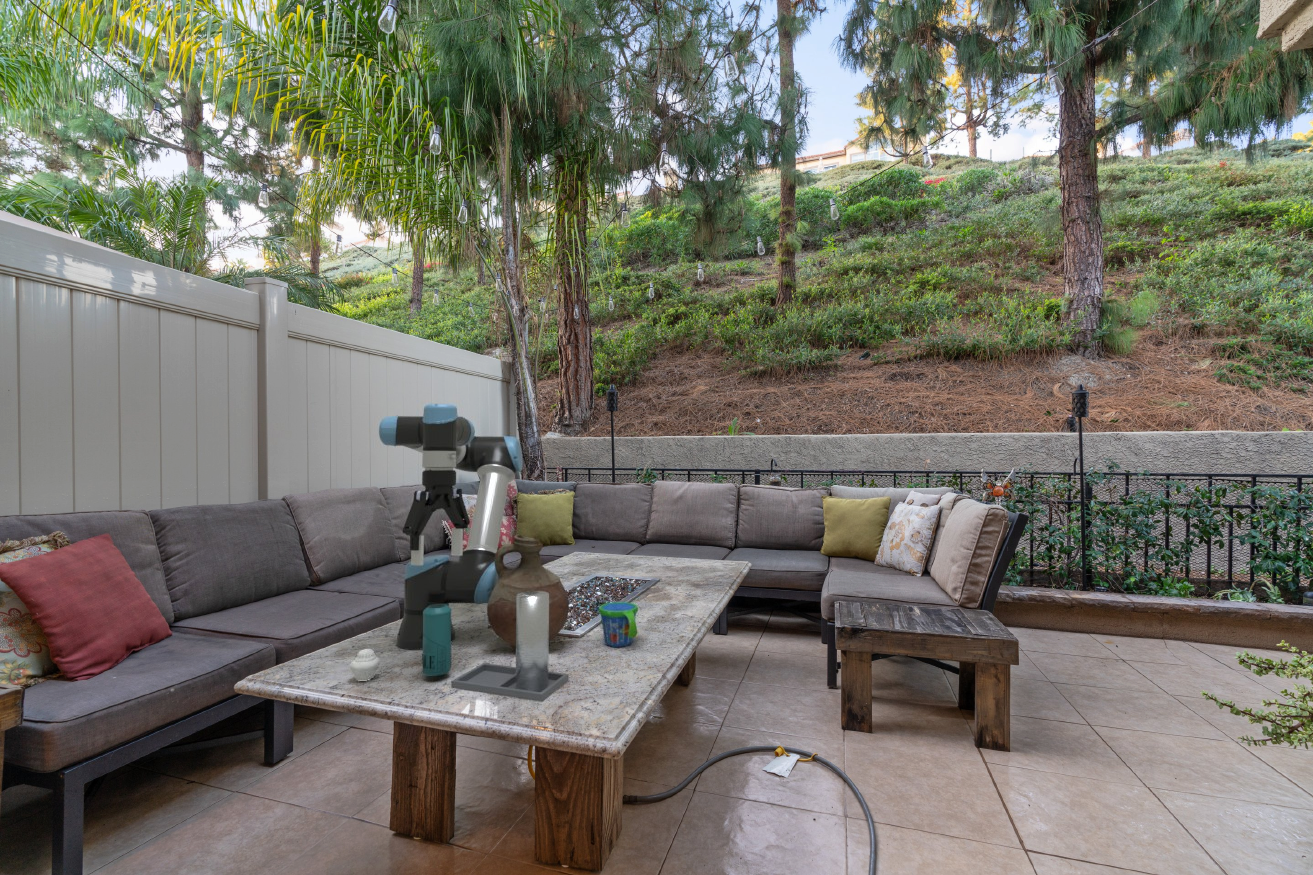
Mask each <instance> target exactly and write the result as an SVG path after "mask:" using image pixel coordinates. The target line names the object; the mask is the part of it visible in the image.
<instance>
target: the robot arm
mask: <svg viewBox="0 0 1313 875" xmlns="http://www.w3.org/2000/svg"><path fill="white" fill-rule="evenodd" d="M422 415H423V416H417V415H415V416H413V415H411V416H410V415H409V416H408V415H406V416H405V415H402V416H401V415H395V416H394V415H392V416H386V417H383V418H382V419H381V420H380V423H379V427H378V436H379V439H380V441H381V442H382V444H383V445H385V446H392V447H398V446H399V447H400V446H402V447H404V448H408V449H411V450H414V451H416V452H419V453H421V454H422V456H421V457H422V460H421V462H422V463H421V467H422V468H423V469H424V470H423V471H422V475H421V477H422V478H421V485H422V487H424V489H425V490H416V491H414V492H413V501H412V504H411V506H410V510H409V512H408V515H407V518H406V520H405V523H404V526H403V528H402V533H403V534H405V535H406V536H409V549H410V561H409V562H408V563H406V565H405V569H404V578H403V580H404V581H403V582H404V583H403V584H404V587H403V590H404V591H403V593H404V594H403V595H404V597H403V599H404V600H403V605H404V606H403V607H404V608H403V617H402V619H401V620H402V621H401V624H400V626H399V630H398V632H397V635H396V646H397V647H398V648H400V649H405V650H423V635H422V634H423V632H422V631H423V630H422V627H423V626H422V625H423V611H424V610H425V609H426V608H427V607H428V606H430V605H434V604H446V605H448V606H449V604H476V605H481V604H488V601H489V598H490V596H491V593H492V591H493V589H494V587H495V586H496V584H497V581H498V574H497V572H496V569H495V563H494V558H495V554H496V552H497V550H498V549H499V548H498V547H499V543H500V542H499V540H500V535H501V531H502V530H501V529H502V524H503V523H502V522H503V518H504V512H505V507H506V500H507V494H508V488H509V483H511V482H512V481H514V479H515V476H516V473H517V474H518V473H521V472H522V470H523V452H522V446H521V444H520V440H519V439H518V438H517V437H515V436H507V435H503V436H493V435H492V436H491V435H489V436H482V435H481V436H478V435H477V436H475V432H476V430H475V426H474V424H473V423H472V421H470V420H469V419H467V418H465V417H464V416H459V414H458V408H457V405H454V404H449V403H429V404H426V405H425V406H424V408H423V414H422ZM454 469H455V470H454ZM456 470H459V471H463V472H469V473H476V474H477V476H478V478H480V481H479V485H478V491H477V494H476V501H475V505H474V509H473V510H474V511H473V516H472V519H471V520H472V521H471V520H470V517H469V514H468V511H467V508H466V505H465V501H464V499H463V489H462V488H453V487H455V486H456V485H457V471H456ZM437 510H444V513H446V516H447V517H448V520H450V523H451V524H452V526H453V527H454V528H451V556H456V557H457V556H458V557H459V558H458V560H451V558H450V556H449V555H448V554H440V555H431V556H426V557H424V551H425V550H424V547H425V546H424V543H425V541H424V540H425V535H422V533H423V531H425V530H424V529H425V527H426V526H427V524H428V522H429V520H430V519H431V517H432V515H433V513H434V512H436V511H437ZM470 524H471V526H470V530H469V535H468V540H467V546H466V548H464V549H463V547H464V542H463V541H464V537H465V536H464V532H465V531H464V529H467V528H469V525H470ZM503 563H504V566H506V564H505V562H504V561H503ZM436 590H444V591H446V596H447V600H445V601H442V602H428V595H429V592H431V591H436ZM449 607H450V606H449ZM455 638H456V630H455V627H454V625H453V621H452V619H451V642H453V641H454V640H455Z"/></svg>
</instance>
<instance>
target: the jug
mask: <svg viewBox="0 0 1313 875" xmlns="http://www.w3.org/2000/svg"><path fill="white" fill-rule="evenodd" d="M543 547H544V545H543V544H542V542H540V540H539V539H535V538H534V537H530V536H529V537H528V536H523V535H522V534H518V533H517V534H515V535H514V536H513V543H512V544H504V545H501V546H500V547H499V548H497V552H496V554H495V558H494V563H495V569H496V572H497V574H498V581H497V584H496V586H495V587H494V589H493V591H492V593H491V596H490V598H489V601H488V603H487V605H486V606H487V607H486V616H487V620H488V623H489V625H490V627H491V629H492V631H493V633H494V634H495V635H496V636H497V637H498V638H499V639H500V640H502V641H503V642H505V643H507V644H508V645H510V647H513V648H514V649H516V595H517V594H519V593H522V592H528V591H544V592H548V593H549V642H550V641H552V640H553V639H554V638H555V637H556V636H557V635H558V634H559V633H560V632H561V630H562V629H563V628H564V626H565V623H566V622H567V621H566V620H567V619H568V615H569V607H570V605H569V598H568V594H567V591H566V589H565V586H564V585H563V583H562V581H561V579H560V577H559V576H558V575H557V574H555V573H554V572H552V571H551V570H549V569H548V568H546V567H544V566H543V564H542V561H541V555H540V552H541V551H542V548H543ZM510 553H518V554H520V562H519V563H518V564H519V565H518V566H517V567H515V568H509V567H508V566H506V565H505V566H504V564H505V562H504V557H505V556H506V555H507V554H510ZM503 562H504V563H503Z"/></svg>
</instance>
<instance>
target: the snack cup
mask: <svg viewBox="0 0 1313 875" xmlns="http://www.w3.org/2000/svg"><path fill="white" fill-rule="evenodd" d="M638 611H639V607H638V605H637V604H635V603H632V602H625V601H623V602H621V601H619V602H618V601H616V602H607V603H603V604H601V605H599V608H598V613H599V614H600V617H601V618H600V622H601V625H602V630H603V638H604V644H606V645H607V646H610V647H613V648H614V647H615V648H618V647H619V648H622V647H627V646H629V645H630V644H632V643H633V638H635V637H636V636H637V635H638V629H637V622H636V616H637V613H638Z"/></svg>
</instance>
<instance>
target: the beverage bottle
mask: <svg viewBox="0 0 1313 875" xmlns="http://www.w3.org/2000/svg"><path fill="white" fill-rule="evenodd" d="M445 600H447V596H446V591H444V590H436V591H431V592H429V595H428V602H442V601H445ZM451 620H452V608H451V607H450V606H448V605H446V604H434V605H430V606H428V607H427V608H426V609H425V610H424V611H423V625H422V626H423V627H422V630H423V631H422V632H423V634H422V635H423V649H422V653H421V665H422V668H421V669H422V673H423V675H425V676H428V677H436V676H437V677H438V676H442V675H445V674H447V673H449V672H450V671H451V668H452V662H453V661H452V651H453V650H452V642H453V641H452V642H451Z"/></svg>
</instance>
